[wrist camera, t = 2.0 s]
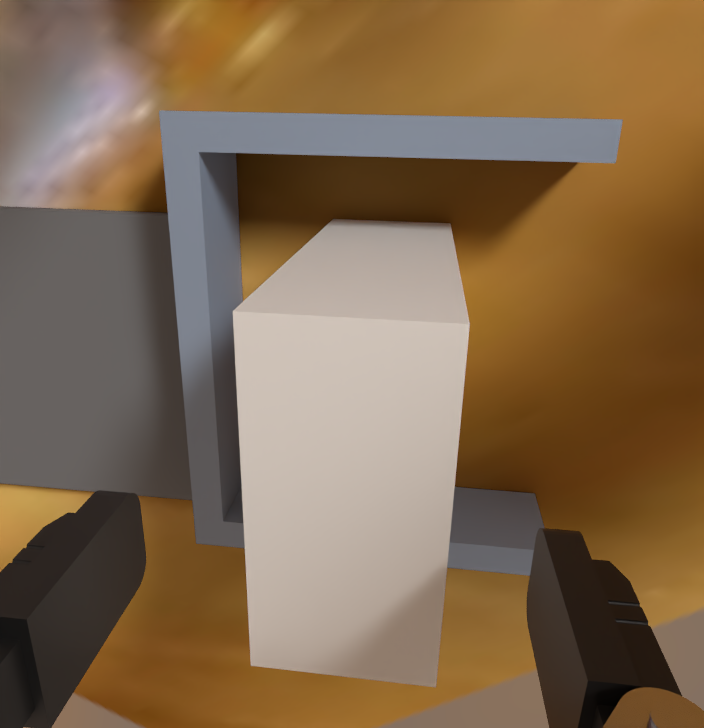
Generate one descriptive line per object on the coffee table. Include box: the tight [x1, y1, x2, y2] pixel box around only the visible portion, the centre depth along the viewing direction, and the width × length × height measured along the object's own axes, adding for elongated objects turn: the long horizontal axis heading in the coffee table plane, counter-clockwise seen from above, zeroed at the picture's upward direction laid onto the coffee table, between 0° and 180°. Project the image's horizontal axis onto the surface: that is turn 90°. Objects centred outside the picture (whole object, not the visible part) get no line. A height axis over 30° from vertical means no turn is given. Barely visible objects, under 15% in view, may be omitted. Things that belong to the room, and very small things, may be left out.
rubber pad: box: [0, 207, 192, 500], centre depth 27 cm, size 13×13×1 cm
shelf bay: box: [159, 111, 623, 576], centre depth 23 cm, size 14×16×4 cm
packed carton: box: [233, 219, 470, 687], centre depth 19 cm, size 4×9×13 cm, turn 178°
